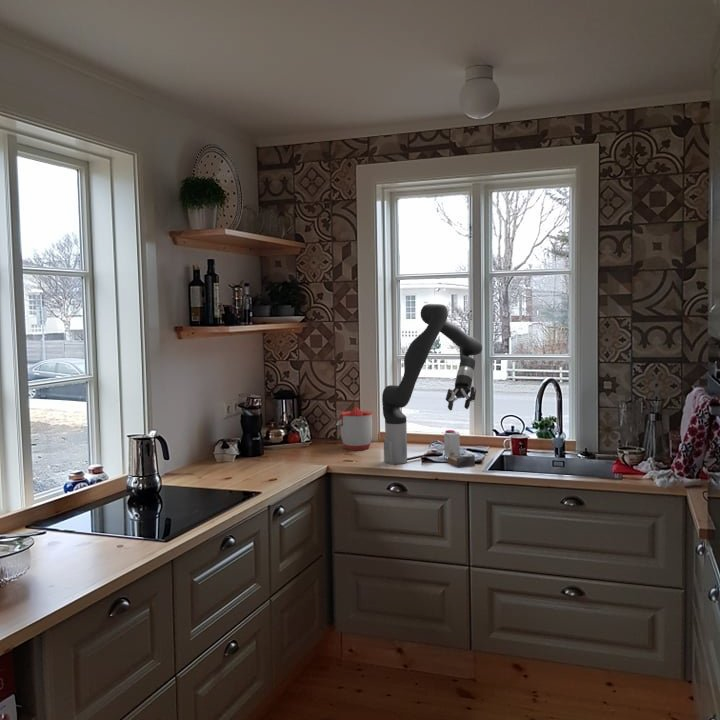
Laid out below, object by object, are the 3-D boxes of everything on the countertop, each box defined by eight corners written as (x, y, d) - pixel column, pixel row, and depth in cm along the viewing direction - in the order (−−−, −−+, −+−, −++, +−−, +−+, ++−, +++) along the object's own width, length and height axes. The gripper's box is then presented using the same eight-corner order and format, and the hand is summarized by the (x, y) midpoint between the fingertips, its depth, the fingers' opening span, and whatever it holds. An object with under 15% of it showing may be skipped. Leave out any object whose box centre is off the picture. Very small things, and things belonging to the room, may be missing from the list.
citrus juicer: (334, 446, 349) (333, 405, 347) (369, 444, 352) (368, 403, 351) (339, 452, 334) (338, 410, 332) (376, 450, 337) (375, 408, 335)
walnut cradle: (457, 467, 299) (457, 457, 298) (447, 463, 307) (447, 453, 307) (474, 465, 301) (474, 456, 301) (464, 461, 310) (464, 452, 310)
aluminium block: (449, 460, 313) (449, 435, 312) (444, 457, 318) (444, 433, 317) (459, 459, 315) (459, 434, 314) (454, 456, 319) (454, 432, 319)
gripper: (447, 375, 335) (440, 406, 328) (473, 372, 326) (467, 403, 319) (455, 383, 340) (448, 413, 333) (481, 380, 331) (475, 411, 324)
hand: (458, 408), depth 326 cm, fingers open, 8 cm apart
